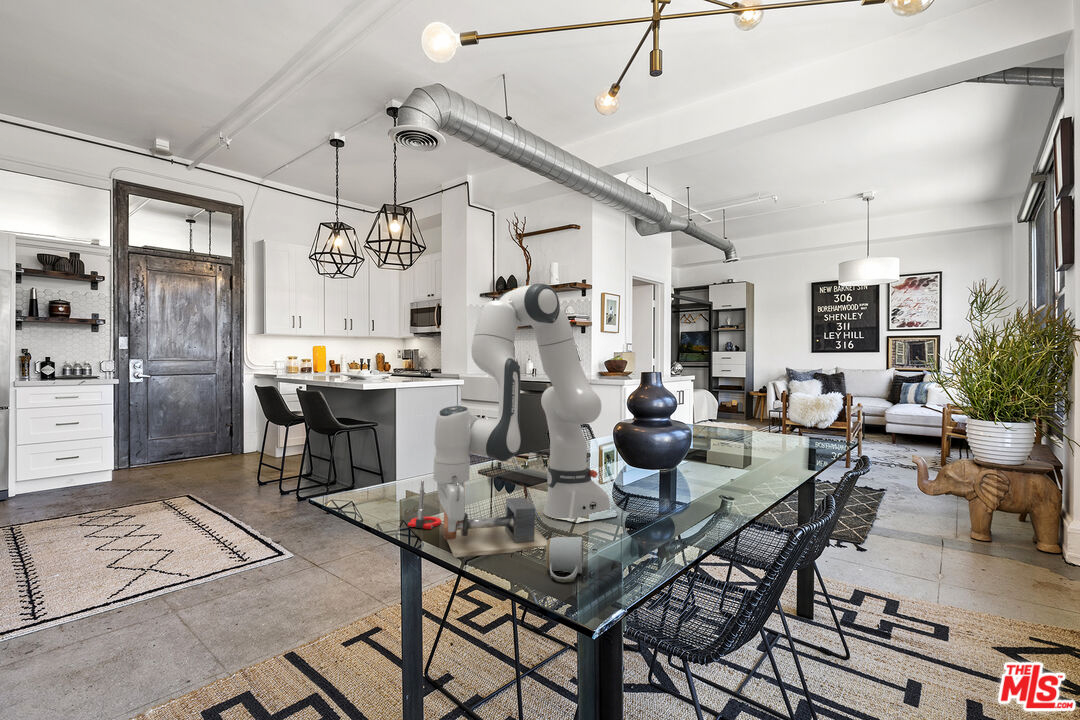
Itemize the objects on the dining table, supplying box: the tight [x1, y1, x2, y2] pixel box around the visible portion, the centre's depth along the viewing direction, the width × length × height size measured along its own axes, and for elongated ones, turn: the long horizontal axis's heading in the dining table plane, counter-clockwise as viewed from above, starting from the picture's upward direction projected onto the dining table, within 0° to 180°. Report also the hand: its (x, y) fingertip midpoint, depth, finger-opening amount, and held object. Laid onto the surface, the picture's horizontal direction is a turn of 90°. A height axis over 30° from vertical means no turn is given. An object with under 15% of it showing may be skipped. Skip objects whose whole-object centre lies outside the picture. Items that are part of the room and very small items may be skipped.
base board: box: [446, 526, 548, 559], centre depth 135 cm, size 24×16×1 cm, turn 108°
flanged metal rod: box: [442, 510, 514, 541], centre depth 134 cm, size 19×6×7 cm, turn 108°
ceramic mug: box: [545, 536, 584, 580], centre depth 117 cm, size 11×8×8 cm
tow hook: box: [407, 480, 442, 530], centre depth 148 cm, size 8×13×9 cm
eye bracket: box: [504, 497, 536, 543], centre depth 137 cm, size 5×10×8 cm, turn 18°
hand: (450, 528), depth 132 cm, fingers closed on flanged metal rod, 3 cm apart
